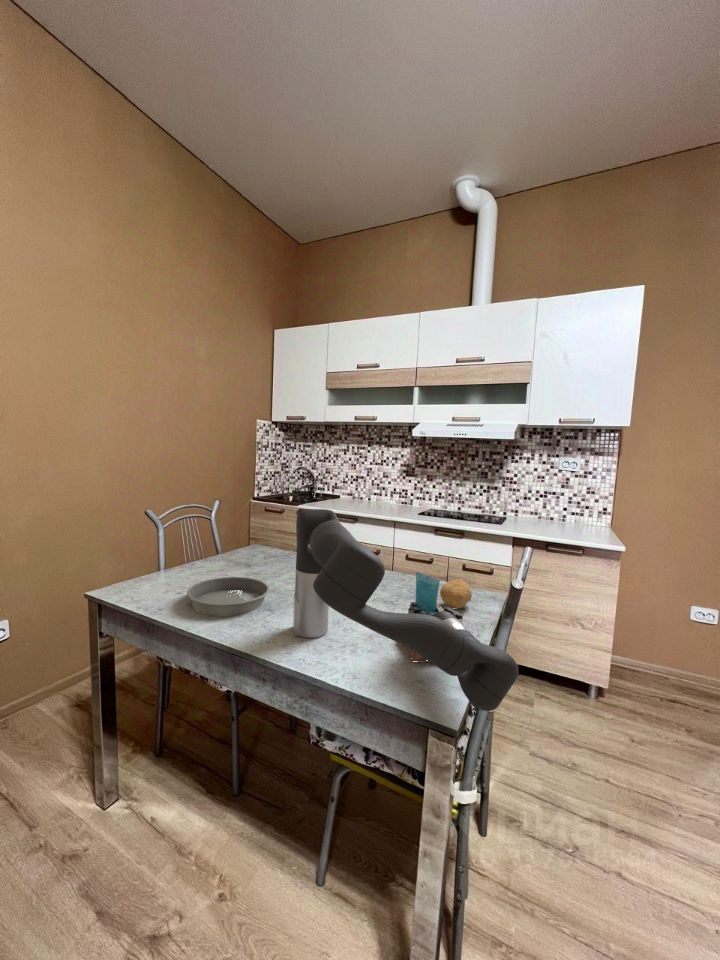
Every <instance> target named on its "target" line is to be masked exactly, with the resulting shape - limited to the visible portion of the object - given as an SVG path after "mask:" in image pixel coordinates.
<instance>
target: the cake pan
mask: <svg viewBox="0 0 720 960" xmlns="http://www.w3.org/2000/svg"><path fill="white" fill-rule="evenodd" d="M230 590H231V591H232V590H233V591H234V590H240V591H241V590H242V591H244V592H248V591H250V593H253V594H256V595H257V597H254V598H252V599H249V600H245V598H244V596H242V595H241V596H242V597H243V598H242V597H241V596H239V594H240V593H239V594H236V593H237V591H236V592H232V593H230ZM228 591H229V593H228ZM269 592H270V586H269V585H268V584H267V582H265V581H262V580H260V579H257V578H254V577H246V576H245V577H244V576H226V577H225V576H223V577H216V578H215V577H214V578H210V579H206V580H203V581H200V582H197V583H195V584H194V585H191V586H190V587H189V588H188V590H187V591H186V596H187V597H188V599H189V600H191V605H192V606H191V607H192V608H193V609H194V610H195V611H196V610H197V611H198V613H200V612H201V613H200V614H202V613H204V614H203V615H206V614H207V615H208V616H213V615H214V616H217V617H218V616H219V617H225V616H226V617H229V616H237V615H242V614H247V613H249V612H252V611H254V610H257V609H259V608H260V607H261V606H262V605H263V603H265V598H266V596H267V595H268V594H269ZM234 594H235V595H234ZM230 595H231V596H230ZM227 596H228V597H227ZM240 597H241V598H240ZM197 611H196V612H197Z"/></svg>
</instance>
